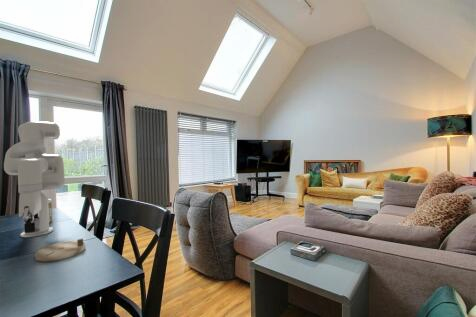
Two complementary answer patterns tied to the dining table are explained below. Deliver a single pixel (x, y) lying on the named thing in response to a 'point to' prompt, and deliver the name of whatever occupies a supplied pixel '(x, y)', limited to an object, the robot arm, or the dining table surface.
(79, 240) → the turntable
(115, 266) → the dining table surface
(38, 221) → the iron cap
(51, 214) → the sprinkles bottle
